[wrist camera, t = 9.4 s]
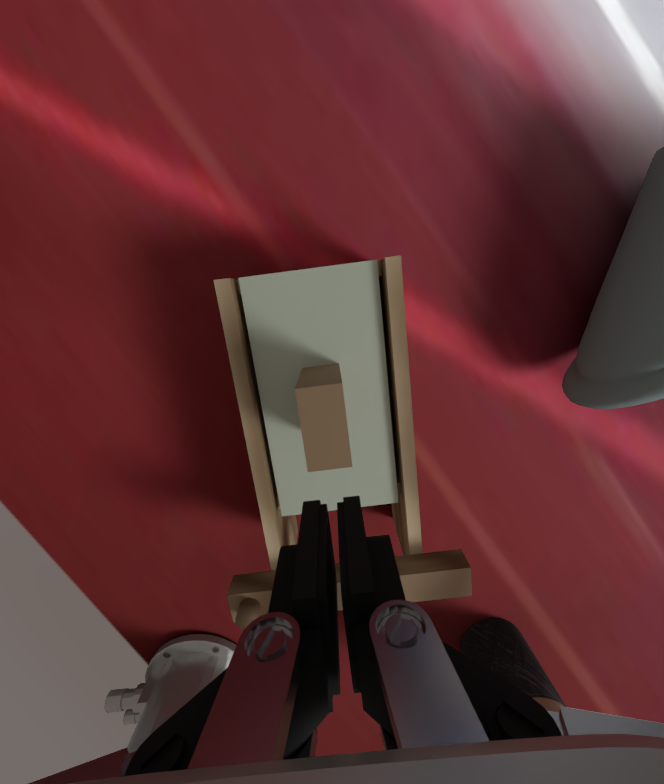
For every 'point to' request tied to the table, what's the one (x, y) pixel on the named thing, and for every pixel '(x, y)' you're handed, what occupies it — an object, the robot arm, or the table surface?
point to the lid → (323, 383)
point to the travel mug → (510, 659)
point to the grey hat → (627, 313)
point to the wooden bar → (417, 573)
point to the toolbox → (245, 381)
